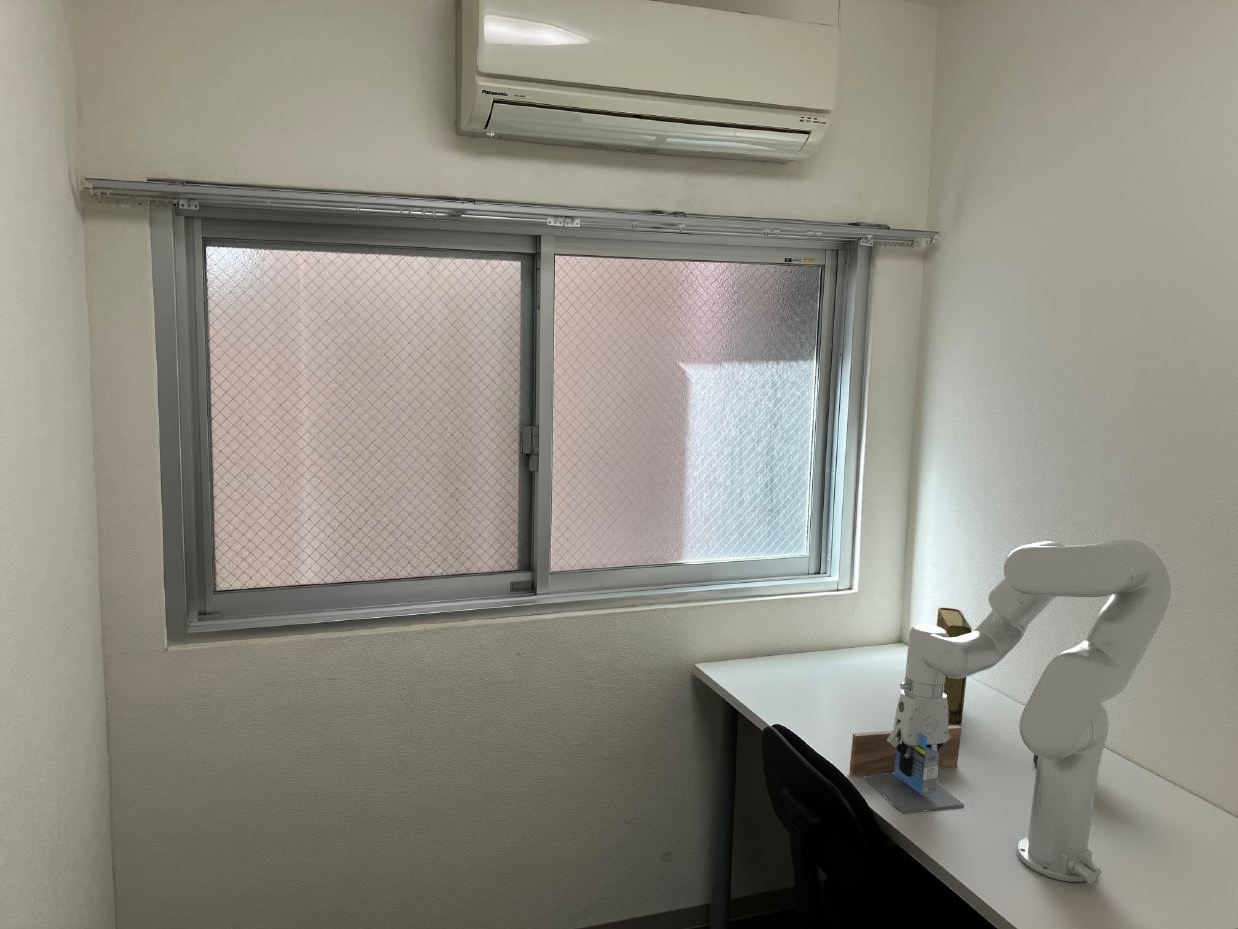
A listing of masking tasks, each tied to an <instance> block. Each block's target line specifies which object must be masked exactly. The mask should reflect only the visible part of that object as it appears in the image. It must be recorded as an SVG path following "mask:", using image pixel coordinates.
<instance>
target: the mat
mask: <svg viewBox="0 0 1238 929" xmlns="http://www.w3.org/2000/svg"><path fill="white" fill-rule="evenodd" d="M863 778H864V780H865V781H866V782H867V783H868V784H869V785H870V786H872V787H873V788H874V789H875V790H876V791H877V790H878V791H879V792H880V793H881V794H880V793H879V792H878V791H877V792H878V793H879V794H880V795H882V796H883V795H884V796H885V797H886V798H887V799H888V800H889V801H890V802H892V803H891V805H893V804H894V805H895V806H896V807H897V808H898V809H899V810H900V811H899V810H898V809H897V808H896V807H895V806H894V805H893V806H894V807H895V808H896V809H897V810H898V811H899V812H900V813H902V812H903V813H902V814H908V813H907V812H912V813H918V812H919V811H921V812H925V811H924V810H930V811H938V809H939V810H947V809H955V808H956V807H957V808H964V807H965V804H964V803H963V802H961V801H960V800H959V799H958V798H957V797H956V796H954V795H953V794H951V793H950V792H949V791H948V790H947V789H945V788H944V787H942V785H940V784H939V783H938V782H937V787H936V792H934V793H931V794H924V795H922V794H920V793H919V792H918V791H916V790H915V789H913V788H912V787H911V786H909V785H908V784H906V783H905V782H903V781H902V780H900V779H899V778H897V777H896V776H895V775H894V773H886V774H875V775H865V776H864V777H863ZM884 796H883V797H884ZM885 797H884V798H885ZM886 798H885V799H886ZM887 799H886V800H887ZM888 800H887V801H888ZM889 801H888V802H889ZM890 802H889V803H890ZM905 812H906V813H905ZM919 813H920V812H919Z"/></svg>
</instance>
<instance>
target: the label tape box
mask: <svg viewBox="0 0 1238 929" xmlns="http://www.w3.org/2000/svg"><path fill="white" fill-rule="evenodd" d="M900 740H901V738H899V739H898V742H899V743H900ZM926 744H927V737H926V736H924V735H923V734H922V735H921V741H920V745H918V746H913V749H912V752H911V756H910V757H911V758H912V759H913V762H912V772H911V776H910V777H907V776H906V775H905V774H904V773H902V772H901V771H900V769H899V762H900V753H899V752H898V750H897V749H896V757H895V769H894V773H893V774H894V775H895V776H896V777H897V778H899V779H900V780H902V781H903V782H905V783H906V784H908V785H909V786H911V787H912V788H913V789H915V790H916V791H918V792H919V793H920V794H922V795H924V794H931V793H934V792H936V787H937V783H938V774H939V773H938V770H939V768H938V761H939V753H937V752H935V751H934V750H932V749H931V748H929V747H927V746H926ZM906 746H907V745H906ZM906 746H905V749H906Z"/></svg>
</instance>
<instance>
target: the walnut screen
mask: <svg viewBox="0 0 1238 929" xmlns="http://www.w3.org/2000/svg"><path fill="white" fill-rule="evenodd" d="M893 730H894V729H893ZM893 730H884V731H869V732H857V733H856V732H855V733H852V740H851V741H852V743H851V751H850V762H849V771H848V772H849V773H848V774H849V775H850V776H851V777H861V776H874V775H885V774H893V773H892V772H894V769H895V757H896V748H895V747H894V746H892V745H891V744H890V743H888V742H887V739H888V737H889V736H890V734H891V733H892V731H893ZM948 734H949V735H950V739H949V740H948V741H947V742H945V743H944V744H943V745H942V747H941V748H940V749H939V750H938V751H937V753H939V761H938V769H944V768H954V767H955V768H957V767H958V763H959V755H960V754H959V752H960V746H961V744H960V743H961V734H962V727H961V725H958V724H955V725H948Z"/></svg>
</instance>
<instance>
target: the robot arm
mask: <svg viewBox="0 0 1238 929" xmlns="http://www.w3.org/2000/svg"><path fill="white" fill-rule="evenodd" d="M1003 575H1004V577H1003V578H1002V579H1001V580H1000V581H999V582H998V584H996V586H994V587H993V589H992V590H990V592H989V594H988V599H987V600H988V603H989V606H990V608H991V611H990V613H989V614H988V615H987V616H986V618H984V620H982V622H981V623H980V624H979V625H978V626H976V628H975V629H973V630H972V631H971V633H969V634H965V635H962V636H958V637H952V638H949V636H948V633H947V632H946V631H945V630H944V629H942V628H940V627H937V625H932V624H925V623H924V624H921V623H920V624H916V625H914V626H912V627H911V628H910V630H909V633H908V644H907V655H906V665H905V675H904V676H905V677H904V682H903V681H902V682H900V684H899V688H900V689H901V691H900V695H899V698H898V701H897V705H896V708H895V715H894V722H893V731H892V730H891V731H892V733H891V734H890V736H889V737H888V739H887V742H888V743H890V744H891V745H892V746H894V747H895V748H896V749H897V750H898V752H899V753H900V762H899V769H900V771H901V772H902V773H904V774H905V775H906V776H907V777H910V776H911V772H912V762H913V759H912V758H911V757H910V756H911V752H912V749H913V746H918V745H920V741H921V735H922V734H923V735H924V736H926V737H927V744H926V746H927V747H929V748H931V749H932V750H934V751H935V752H937V751H938V750H939V749H940V748H941V747H942V745H943V744H944V743H945V742H947V741H948V740H949V739H950V735H949V734H948V726H949V722H948V702H947V696H946V694H944V693H943V692H944V682H945V675H946V676H948V677H950V678H954V679H961V678H965V677H970V676H972V675H975V674H978V673H980V672H984V671H987V670H989V669H992V668H993V667H995V666H996V665H997V664H998V663H999V662H1001V661H1002V660H1003V659H1004V658H1005V656H1007V655H1008V654H1009V653H1010V652H1011V651H1012V650H1013V649H1014V648H1015V647H1016V646H1017V645H1018V643H1020V641H1021V640H1022V639H1023V636H1024V635H1025V634H1026V631H1027V630H1028V627H1029V625H1030V624H1031V623H1032V622H1033V621H1034V620H1035V619H1036V617H1038V616H1039V615H1040V614H1041V612H1043V610H1045V609H1046V607H1047V606H1049V605H1050V603H1052V602H1053V600H1054V599H1056V598H1057V597H1065V598H1066V597H1069V598H1070V597H1071V598H1100V597H1101V598H1103V597H1109V596H1110V597H1109V599H1108V600H1107V602H1106V603H1105V605H1104V606H1103V607H1102V609H1101V610H1100V611H1099V612H1098V615H1096V618H1095V619H1094V623H1093V624H1092V625H1091V626H1092V627H1091V628H1090V630H1089V632H1088V634H1087V635H1086V636H1085V637H1084V639H1083V640H1082V641H1081V643H1079V644H1078V645H1076V646H1074V647H1072V648H1070V649H1066V650H1065V651H1062V652H1060V653H1058V654H1057V655H1055V657H1053V658H1052V659H1051V660H1050V662H1049V663H1048V664H1047V666H1046V667H1045V669H1044V670H1043V672H1042V674H1041V676H1040V678H1039V680H1037V682H1036V683H1037V684H1036V685H1035V687H1034V689H1033V691H1032V693H1031V694H1030V696H1029V699H1028V700H1027V702H1026V704H1025V706H1024V707H1023V710H1022V713H1021V714H1020V719H1019V727H1018V728H1019V733H1020V737H1021V739H1022V740H1021V741H1022V742H1023V744H1024V745H1025V747H1026V748H1027V749H1028V750H1029V751H1030V752H1031V753H1032V754H1033V755H1034V754H1035V755H1037V756H1038V762H1037V767H1036V770H1035V779H1034V787H1033V794H1032V803H1031V810H1030V811H1031V812H1030V818H1029V827H1028V835H1027V837H1025V838H1022V839H1021V840H1019V841H1018V843H1017V844H1016V845H1017V846H1016V854H1017V856H1018V858H1019V859H1020V860H1021V861H1022V862H1023V863H1024V864H1025V865H1026V866H1027V867H1028V868H1030V869H1031V870H1033V871H1035V872H1037V873H1039V874H1040V875H1041V874H1042V875H1043V876H1046V877H1048V878H1051V879H1055V880H1058V881H1062V882H1063V881H1064V882H1071V883H1080V882H1082V883H1083V882H1087V884H1093V883H1095V882H1096V880H1097V877H1099V876H1101V874H1102V869H1101V868H1099V867H1098V866H1097V865H1096V864H1095V862H1094V859H1092V857H1093V851H1092V850H1090V849H1089V842H1090V841H1089V840H1090V835H1091V834H1090V832H1091V825H1092V818H1093V812H1094V804H1095V796H1096V789H1097V783H1098V782H1097V781H1098V778H1099V777H1098V776H1099V770H1100V763H1101V759H1102V755H1103V752H1104V749H1105V745H1106V742H1107V738H1108V735H1109V734H1108V733H1109V724H1110V723H1109V717H1108V713H1107V710H1106V708H1105V705H1104V704H1103V703H1105V702H1107V701H1109V700H1112V699H1113V698H1115V697H1117V696H1118V695H1121V694H1122V692H1124V690H1125V689H1126V688H1127V686H1128V684H1129V682H1130V681H1131V679H1132V677H1133V674H1134V673H1135V671H1136V669H1137V667H1138V665H1139V664H1140V663H1141V660H1142V659H1143V656H1144V655H1145V653H1146V652H1147V649H1148V648H1149V646H1150V644H1151V641H1152V640H1153V638H1154V636H1155V634H1156V633H1157V631H1158V629H1159V627H1160V625H1161V624H1162V622H1163V620H1164V618H1165V615H1166V613H1167V611H1168V608H1169V605H1170V601H1171V593H1172V589H1171V588H1172V586H1171V585H1172V584H1171V579H1170V574H1169V572H1168V570H1167V567H1166V565H1165V563H1164V561H1163V560H1162V558H1161V557H1160V556H1159V555H1158V554H1157V552H1156V551H1154V549H1153V548H1151V547H1150V546H1149V545H1147V544H1145V543H1144V542H1141V541H1139V540H1137V539H1128V538H1118V539H1113V540H1112V539H1111V540H1107V541H1103V542H1097V543H1094V544H1084V545H1083V544H1082V545H1065V544H1062V543H1060V542H1057V541H1052V540H1051V541H1050V540H1049V541H1047V540H1046V541H1040V542H1039V541H1038V542H1035V543H1031V544H1025V545H1022V546H1019V547H1017V548H1015V549H1014V550H1012V551H1011V552H1010V553H1009V554H1008V556H1007V557H1006V558H1005V562H1004V564H1003ZM899 738H901V740H900V743H899V742H898V739H899ZM906 745H907V746H906ZM905 746H906V749H905Z"/></svg>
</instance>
